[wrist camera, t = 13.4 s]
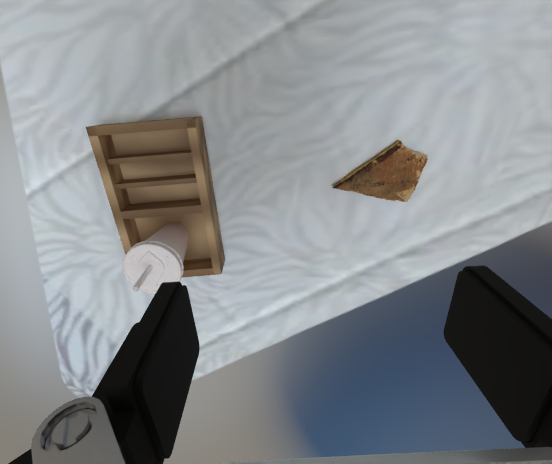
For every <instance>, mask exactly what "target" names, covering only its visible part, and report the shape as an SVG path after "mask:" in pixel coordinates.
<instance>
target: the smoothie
mask: <svg viewBox="0 0 552 464" xmlns="http://www.w3.org/2000/svg"><path fill="white" fill-rule="evenodd" d="M188 241H189V231H188V229H187V228H186V227H185V226H184V225H183V224H181V223H178V222H171V223H168V224H167V225H165V226H164V227H163V228H161V229H160V230H159V231H157V232H156V233H155V234H153V235H152V236H151V237H149V238H148V239H147V240H145V241H142V242H140V243H137V244H135V245H134V246H133V247H131V248H130V250H129V251H128V253H127V254H126V255H125V257H124V259H123V272H124V275H125V277H126V278H127V280H128V281H129V282H130V283H131V284H132V285H133V288H132V290H133V291H138V290H141V291H144V292H147V293H152V294H156V292H157V290H158V289H159V287H160V285H161V284H162V283H163V282H179V281H180V280H181V278H182V275H183V269H184V266H183V261H184V257H185V253H186V249H187V245H188Z"/></svg>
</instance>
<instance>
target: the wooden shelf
mask: <svg viewBox="0 0 552 464" xmlns="http://www.w3.org/2000/svg"><path fill="white" fill-rule="evenodd" d="M86 129H87V133H88V136H89V139H90V142H91V145H92V149H93V152H94V155H95V158H96V161H97V165H98V168H99V171H100V174H101V177H102V181H103V184H104V187H105V190H106V193H107V197H108V200H109V203H110V206H111V209H112V213H113V216H114V219H115V222H116V225H117V229H118V232H119V235H120V238H121V241H122V245H123V248H124V251H125V254H127V253H128V251H129V250H130V248H131V247H133V246H134V245H135V244H137V243H140V242H142V241H145V240H147V239H148V238H149V237H151V236H152V235H153V234H155V233H156V232H157V231H159V230H160V229H161V228H163V227H164V226H165V225H167V224H168V223H171V222H178V223H181V224H183V225H184V226H185V227H186V228H187V229H188V231H189V241H188V245H187V249H186V253H185V257H184V261H183V266H184V269H183V275H182V277H191V276H204V275H216V274H221V273H222V269H223V266H224V262H225V257H224V251H223V245H222V239H221V233H220V226H219V220H218V214H217V208H216V202H215V196H214V190H213V184H212V177H211V171H210V165H209V159H208V153H207V147H206V141H205V135H204V128H203V122H202V117H191V118H179V119H167V120H154V121H142V122H130V123H118V124H105V125H97V126H90V127H86Z"/></svg>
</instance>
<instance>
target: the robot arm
mask: <svg viewBox="0 0 552 464" xmlns="http://www.w3.org/2000/svg"><path fill="white" fill-rule="evenodd" d="M444 337H445V340H446V342H447V343H448V345H449V346H450V348H451V349H452V350H453V352H454V353H455V355H456V356H457V358H458V359H459V360H460V362H461V363H462V364H463V366H464V367H465V369H466V370H467V372H468V373H469V374H470V376H471V377H472V379H473V380H474V382H475V383H476V385H477V386H478V387H479V389H480V390H481V392H482V393H483V395H484V396H485V397H486V399H487V400H488V402H489V403H490V405H491V406H492V407H493V409H494V410H495V412H496V413H497V415H498V416H499V417H500V419H501V420H502V422H503V423H504V425H505V426H506V427H507V429H508V430H509V432H510V433H511V434H512V436H513V437H514V438H515V439H516V440H518V441H521V442H522V444H523V445H524V446H525V448H516V449H493V450H470V451H469V450H468V451H446V452H424V453H402V454H383V455H361V456H343V457H342V456H341V457H324V458H323V457H322V458H303V459H284V460H266V461H248V462H231V463H218V464H552V319H551V318H549V317H548V316H547V315H546V314H544V313H543V312H542V311H541V310H539V309H538V308H537V307H536V306H535V305H533V304H532V303H531V302H530V301H528V300H527V299H526V298H525V297H524V296H522V295H521V294H520V293H519V292H517V291H516V290H515V289H514V288H512V287H511V286H510V285H509V284H508V283H506V282H505V281H504V280H503V279H501V278H500V277H499V276H498V275H496V274H495V273H494V272H492V271H491V270H490V269H489V268H488V267H486V266H467V267H465V268H464V269H463V270H462V271H460V272H459V274H458V276H457V280H456V284H455V288H454V292H453V296H452V300H451V304H450V308H449V312H448V316H447V320H446V324H445V328H444ZM198 355H199V340H198V336H197V331H196V326H195V322H194V317H193V313H192V308H191V304H190V299H189V294H188V290H187V287H186V286H185V285H184V286H182V284H181V283H180V282H163V283H162V284H161V285H160V287H159V289H158V290H157V292H156V294H155V296H154V297H153V299H152V301H151V303H150V304H149V306H148V308H147V310H146V311H145V313H144V315H143V317H142V319H141V320H140V322H139V323H136V324H135V325H134V326H133V327H132V329H131V330H130V332H129V334H128V335H127V337H126V339H125V341H124V342H123V344H122V346H121V347H120V349H119V351H118V353H117V354H116V356H115V358H114V359H113V361H112V363H111V364H110V366H109V368H108V370H107V371H106V373H105V375H104V376H103V378H102V380H101V382H100V383H99V385H98V387H97V388H96V390H95V392H94V394H93V395H92V397H82V398H77V399H74V400H72V401H70V402H68V403H65V404H64V405H62V406H61V407H59V408H58V409H56V410H55V411H53V412H52V413H51V414H50V415H49V416H48V417H47V418H46V419H45V420H44V421H43V422H42V424H41V425H40V426H39V428H38V429H37V431H36V433H35V435H34V437H33V439H32V446H31V449H30V450H28V451H27V452H25V453H24V454H22V455H21V456H19V457H18V458H16V459H15V460H13V461H12V462H10V463H9V464H163V462H164V459H165V458H169V457H170V456H171V453H172V450H173V446H174V443H175V439H176V435H177V431H178V428H179V424H180V421H181V417H182V413H183V410H184V406H185V402H186V399H187V395H188V391H189V388H190V384H191V380H192V377H193V373H194V369H195V366H196V362H197V358H198Z"/></svg>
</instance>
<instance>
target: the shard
mask: <svg viewBox="0 0 552 464" xmlns="http://www.w3.org/2000/svg"><path fill="white" fill-rule="evenodd" d="M427 157H428V156H427V155H425V154H421V153H418V152H415V151H412V150H410V149H408V148H407V147H405V146H404V145H403V144H402V142H401V141H399V140H398V141H397V142H396V143H394V144H393V145H392V146H391V147H389V148H388V149H387V150H385V151H383V152H381V153H380V154H379V155H378V156H377V157H376V158H374V159H372V160H371V161H369V162H367V163H365V164H364V165H362V166H361V167H359V168H358V169H356V170H355V171H353V172H351V173H349V174H348V175H347V176H346V177H344V178H343V179H342V180H341V181H339V182H338V183H337V184H336V185H335V186H334V187H333V188H336V189H341V190H345V191H353V192H358V193H361V194H364V195H367V196H373V197H376V198H381V199H386V200H393V201H395V200H399V201H403V202H406V201H408V200H409V199H410V197H411V195H412V193H413V192H414V190H415V188H416V185H417V183H418V180H419V178H420V175H421V173H422V170H423V168H424V166H425V164H426V162H427V160H428V158H427Z"/></svg>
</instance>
